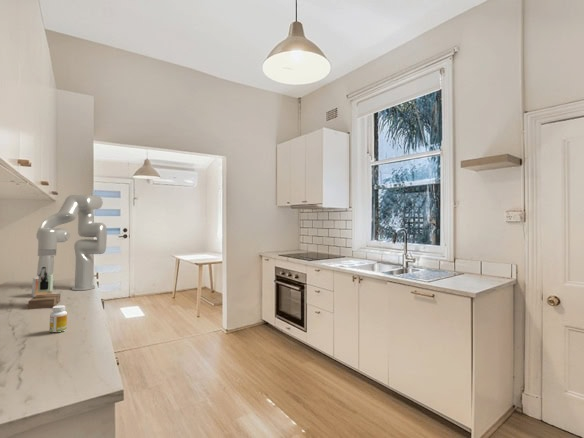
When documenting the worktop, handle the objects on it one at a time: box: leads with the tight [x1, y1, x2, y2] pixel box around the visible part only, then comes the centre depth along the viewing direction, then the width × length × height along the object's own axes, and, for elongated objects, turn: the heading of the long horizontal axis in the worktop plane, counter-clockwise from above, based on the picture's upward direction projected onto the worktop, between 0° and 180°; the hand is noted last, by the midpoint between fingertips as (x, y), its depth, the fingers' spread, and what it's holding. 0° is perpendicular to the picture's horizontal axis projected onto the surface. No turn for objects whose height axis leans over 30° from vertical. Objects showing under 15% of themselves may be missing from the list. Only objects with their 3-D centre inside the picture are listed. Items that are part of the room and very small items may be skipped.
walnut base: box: [27, 293, 61, 310], centre depth 162 cm, size 14×10×4 cm
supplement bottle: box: [48, 304, 68, 333], centre depth 124 cm, size 5×5×10 cm
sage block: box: [38, 273, 54, 292], centre depth 162 cm, size 5×5×8 cm
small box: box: [31, 276, 53, 298], centre depth 181 cm, size 8×6×10 cm
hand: (45, 288), depth 162 cm, fingers closed on sage block, 5 cm apart
